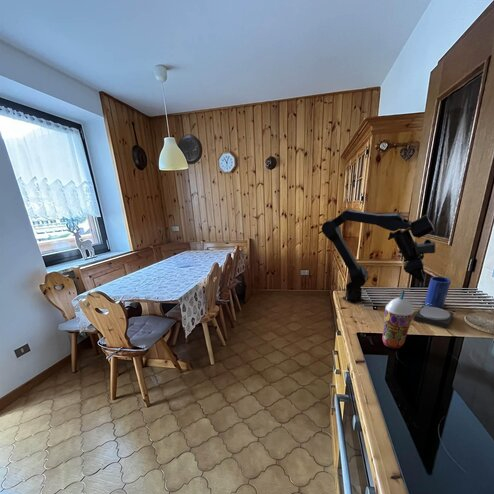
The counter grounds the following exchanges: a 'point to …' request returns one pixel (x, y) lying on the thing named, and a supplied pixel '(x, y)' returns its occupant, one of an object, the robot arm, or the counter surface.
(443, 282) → the tumbler
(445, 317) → the scale
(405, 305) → the smoothie
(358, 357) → the counter surface
